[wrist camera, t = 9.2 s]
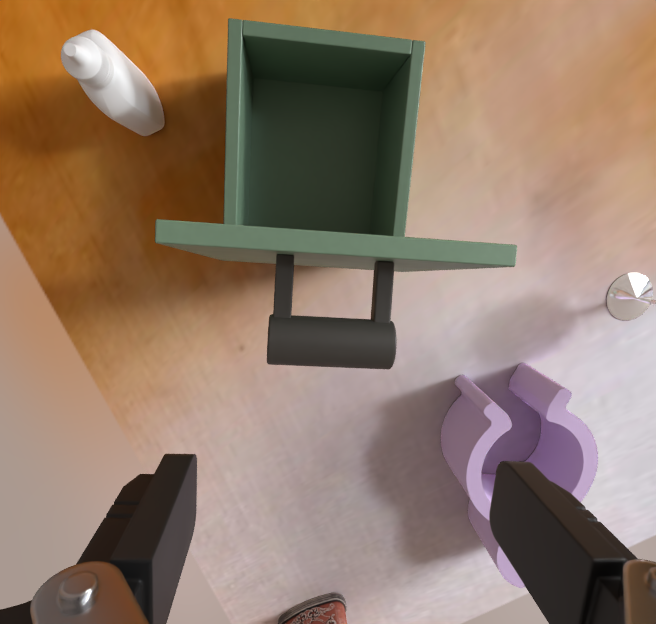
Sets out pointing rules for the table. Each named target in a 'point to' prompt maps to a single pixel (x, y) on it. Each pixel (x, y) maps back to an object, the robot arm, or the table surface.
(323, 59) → the chest
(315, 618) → the lighter
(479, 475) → the clip
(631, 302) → the wineglass
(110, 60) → the eye dropper bottle
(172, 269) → the table surface
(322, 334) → the lid
